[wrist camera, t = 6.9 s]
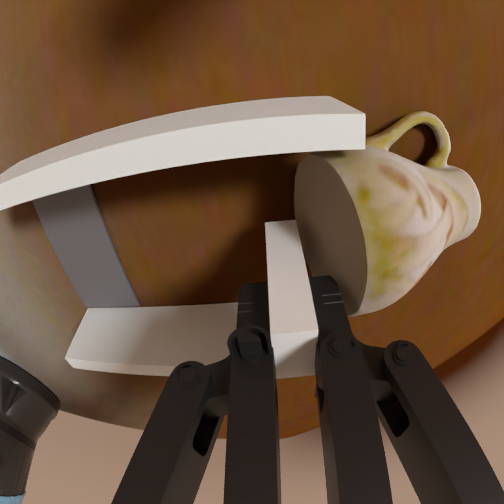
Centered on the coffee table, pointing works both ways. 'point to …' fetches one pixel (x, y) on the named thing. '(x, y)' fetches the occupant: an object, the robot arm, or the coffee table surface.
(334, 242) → the mug
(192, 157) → the channel
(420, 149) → the coffee table surface
